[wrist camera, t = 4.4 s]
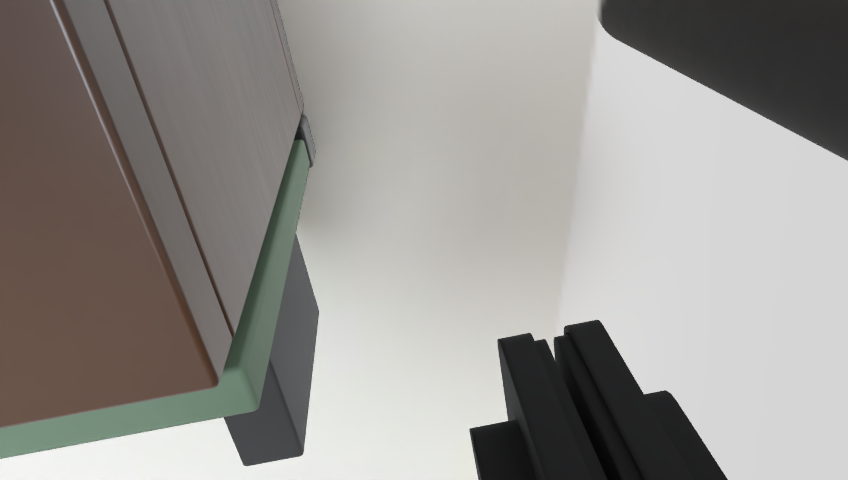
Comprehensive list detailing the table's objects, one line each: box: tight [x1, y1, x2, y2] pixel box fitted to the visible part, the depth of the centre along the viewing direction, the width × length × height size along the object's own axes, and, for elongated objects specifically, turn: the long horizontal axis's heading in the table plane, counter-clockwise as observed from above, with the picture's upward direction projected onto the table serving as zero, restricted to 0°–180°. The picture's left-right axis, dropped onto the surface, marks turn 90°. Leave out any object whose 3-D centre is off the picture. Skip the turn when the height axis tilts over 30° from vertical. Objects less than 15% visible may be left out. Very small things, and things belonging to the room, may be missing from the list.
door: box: [0, 139, 319, 466], centre depth 14 cm, size 4×8×10 cm, turn 100°
